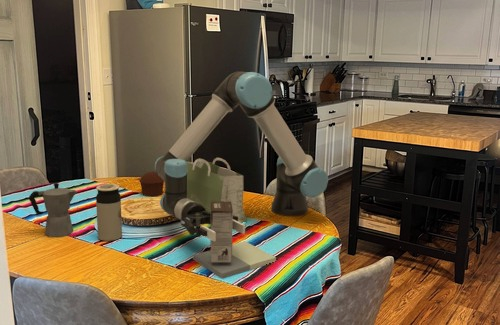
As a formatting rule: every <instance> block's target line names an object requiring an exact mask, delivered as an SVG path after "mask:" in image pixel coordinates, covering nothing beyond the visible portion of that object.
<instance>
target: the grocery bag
mask: <svg viewBox="0 0 500 325" xmlns="http://www.w3.org/2000/svg"><path fill="white" fill-rule="evenodd" d="M216 161H221V162H223V163H224V164H225V165H226V167H227V168H224V167H220V166H219V165H216V164H215V163H216ZM186 163H187V170H188V172H187V198H188V199H190V200H192V201H194V202H196V203H198V204H200V205H202V206H203V207H204V208H205V210H206V211H208V212H211V201H224V202H231V203H232V209H233V215H234V216H237V217H238V222H240V223H243V222H247V217H246V214H245V211H244V208H243V206H244V204H243V202H244V175H243V174H241V173H239V172H235V171H233V170H231V166H230V165H229V163H228V162H227V161H226V160H225V159H223V158H221V157H216V158H214V159H213V161H212V162H210V161H207V160H205V159H203V158H197V159H195V161H194V162H191V161H187V162H186ZM247 223H248V222H247Z"/></svg>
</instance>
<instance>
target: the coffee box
mask: <svg viewBox="0 0 500 325" xmlns="http://www.w3.org/2000/svg"><path fill="white" fill-rule="evenodd" d="M209 225H210V228H209V229H211V230H213V231H215V232H216V241H214V242H213V241H212V240H210V239H209V240H210V241H209V242H210V250H211V262H232V244H233V230H234V229H233V209H232V203H231V202H224V201H211V223H210V224H209Z"/></svg>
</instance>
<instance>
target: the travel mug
mask: <svg viewBox="0 0 500 325" xmlns="http://www.w3.org/2000/svg"><path fill="white" fill-rule="evenodd" d="M119 189H120V185H118V184H117V183H116V184H115V183H105V184H99V185H97V186H96V190H97V193H96V195H95V201H96V202H95V203H96V221H97V222H96V223H97V238H98V239H99V240H101V241H103V242H111V241H116V240H118V239H120V238H122V237H123V229H122V227H123V226H122V225H123V224H122V222H123V221H122V198H121V197H122V195H121V194H120V192H119Z"/></svg>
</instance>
